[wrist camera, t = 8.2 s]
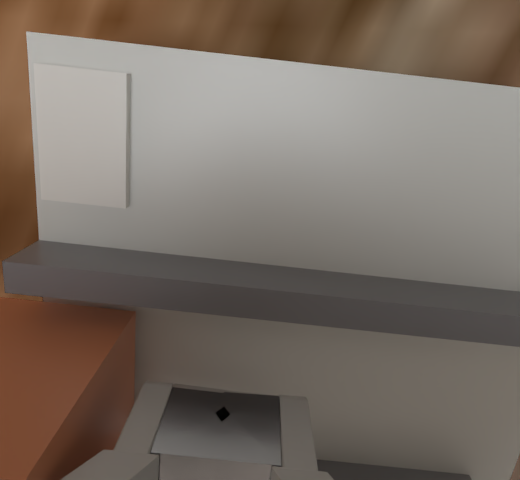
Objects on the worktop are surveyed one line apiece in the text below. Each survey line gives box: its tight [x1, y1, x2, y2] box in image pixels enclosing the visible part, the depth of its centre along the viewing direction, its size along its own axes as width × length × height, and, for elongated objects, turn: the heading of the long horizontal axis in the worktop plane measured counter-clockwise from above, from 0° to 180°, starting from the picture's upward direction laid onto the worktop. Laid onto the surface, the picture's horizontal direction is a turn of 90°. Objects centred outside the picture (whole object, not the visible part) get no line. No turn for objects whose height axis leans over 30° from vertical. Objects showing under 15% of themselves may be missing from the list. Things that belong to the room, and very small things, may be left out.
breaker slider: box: [0, 297, 136, 480], centre depth 7 cm, size 3×3×4 cm
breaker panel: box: [2, 31, 520, 480], centre depth 10 cm, size 11×14×6 cm
